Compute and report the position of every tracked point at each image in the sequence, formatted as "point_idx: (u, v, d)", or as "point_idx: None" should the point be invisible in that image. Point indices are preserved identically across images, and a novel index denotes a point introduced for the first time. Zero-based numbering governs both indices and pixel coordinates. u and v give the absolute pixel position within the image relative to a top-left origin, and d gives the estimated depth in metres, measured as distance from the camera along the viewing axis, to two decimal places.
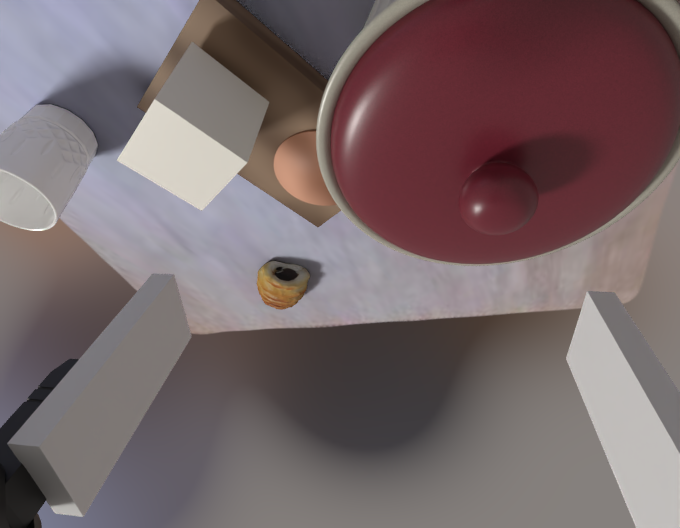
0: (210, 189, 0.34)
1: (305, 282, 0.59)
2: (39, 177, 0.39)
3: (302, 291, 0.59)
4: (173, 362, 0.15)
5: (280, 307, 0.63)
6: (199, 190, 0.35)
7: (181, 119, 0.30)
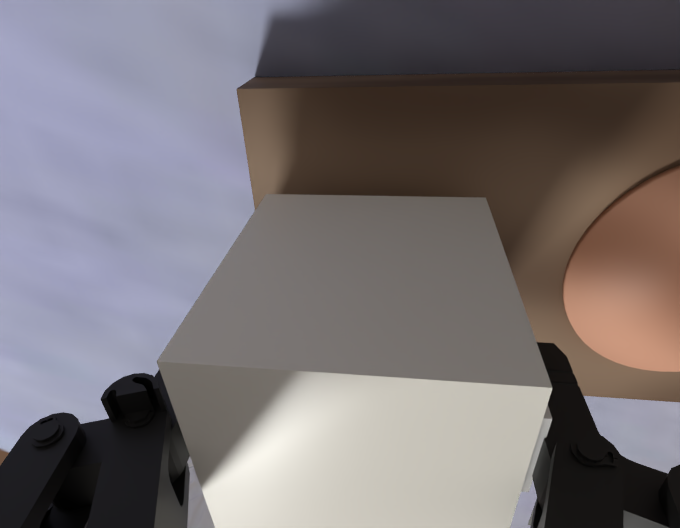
0: (478, 523, 0.10)
1: None
2: None
3: None
4: None
5: None
6: None
7: (258, 375, 0.08)
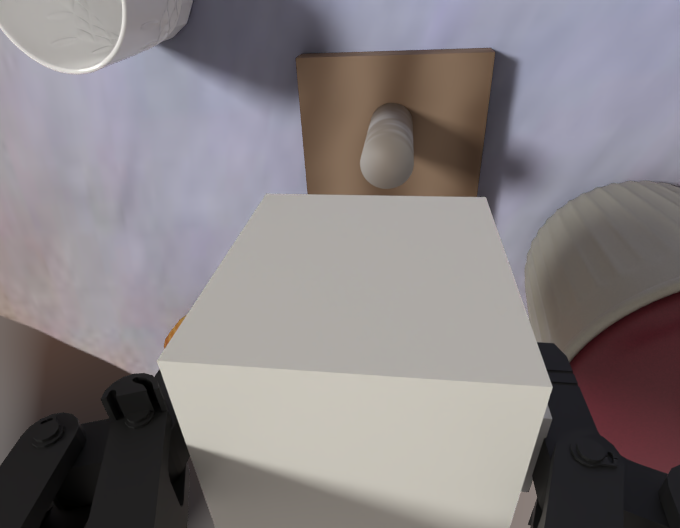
0: (479, 522, 0.10)
1: None
2: (135, 13, 0.24)
3: None
4: None
5: None
6: None
7: (258, 375, 0.08)
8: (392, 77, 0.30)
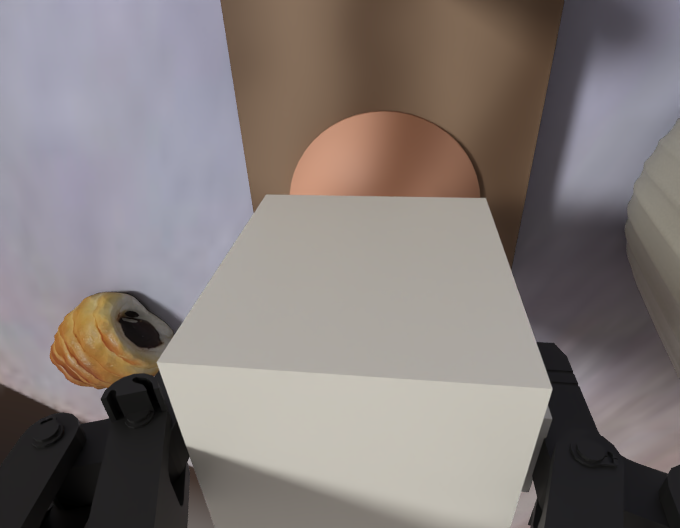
0: (479, 524, 0.10)
1: None
2: None
3: None
4: None
5: (77, 380, 0.31)
6: None
7: (257, 376, 0.08)
8: None
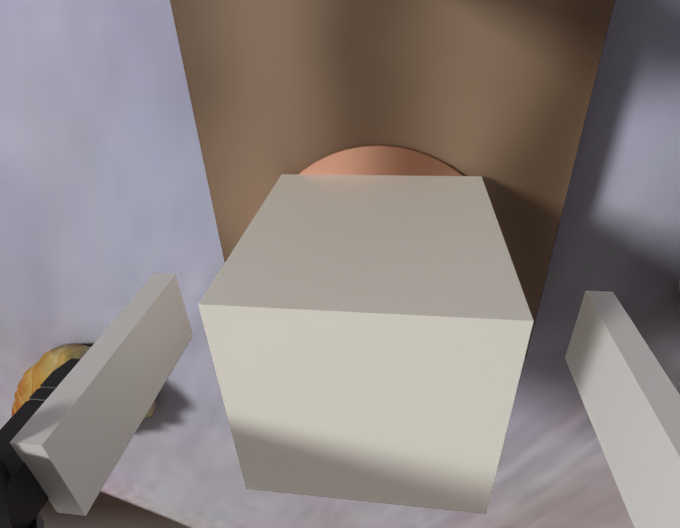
0: (473, 452, 0.11)
1: None
2: None
3: None
4: (174, 361, 0.15)
5: None
6: (449, 469, 0.12)
7: (285, 315, 0.10)
8: None
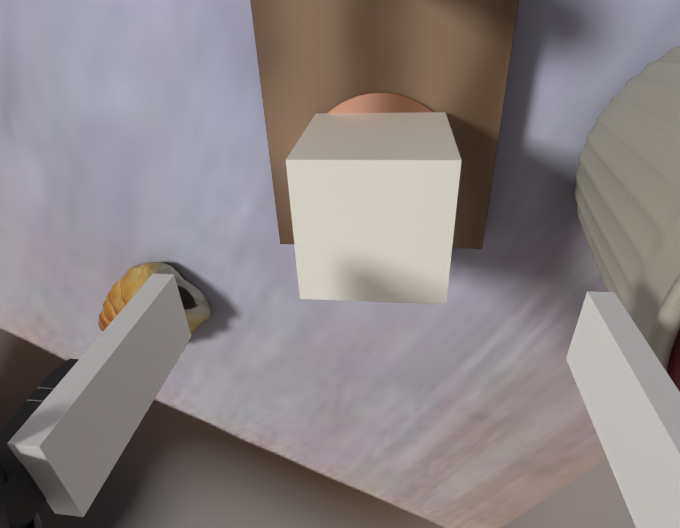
0: (436, 254, 0.20)
1: (198, 323, 0.35)
2: None
3: None
4: (173, 362, 0.15)
5: None
6: (422, 269, 0.20)
7: (332, 164, 0.18)
8: None
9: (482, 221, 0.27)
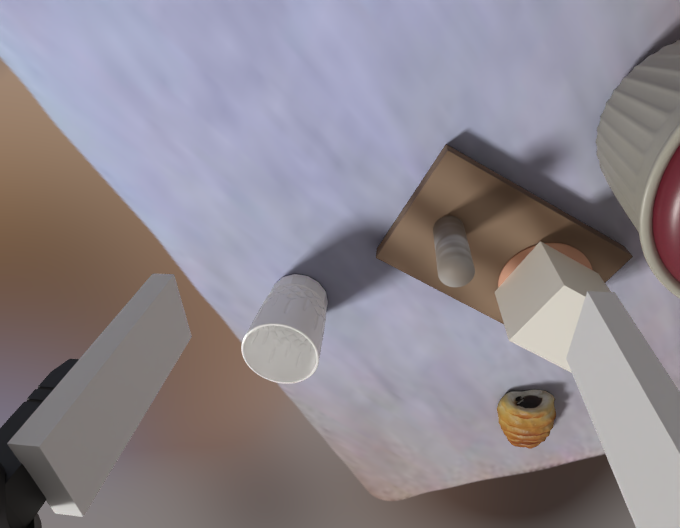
0: None
1: (552, 405, 0.55)
2: (307, 329, 0.44)
3: (553, 416, 0.55)
4: (173, 362, 0.15)
5: (532, 444, 0.58)
6: None
7: (524, 327, 0.39)
8: (421, 214, 0.44)
9: (615, 249, 0.43)
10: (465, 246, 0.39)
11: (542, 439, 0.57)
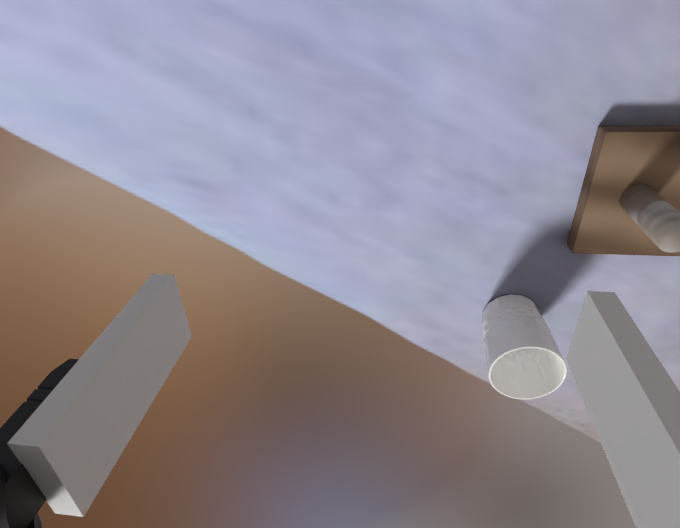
0: None
1: None
2: (543, 342, 0.47)
3: None
4: (173, 362, 0.15)
5: None
6: None
7: None
8: (602, 197, 0.45)
9: None
10: (671, 209, 0.39)
11: None
